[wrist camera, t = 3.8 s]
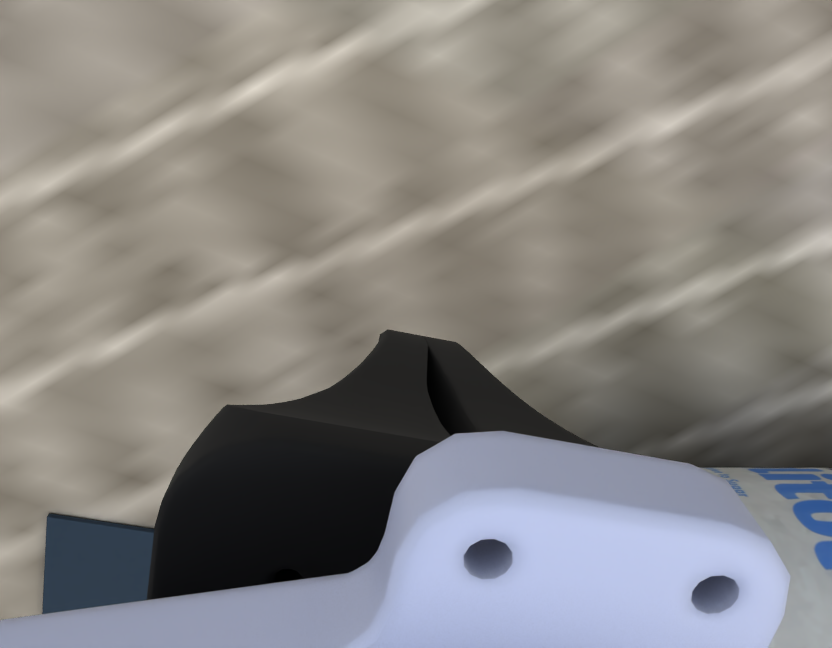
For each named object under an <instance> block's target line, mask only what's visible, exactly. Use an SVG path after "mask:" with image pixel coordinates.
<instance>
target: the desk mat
mask: <svg viewBox="0 0 832 648" xmlns="http://www.w3.org/2000/svg"><path fill="white" fill-rule="evenodd" d="M153 537H154V529H149V528H143V527H136V526H130V525H123V524H116V523H110V522H103V521H96V520H90V519H83V518H76V517H70V516H63V515H57V514H49V515H48V516H47V527H46V549H45V570H44V592H43V613H42V614H48V613H55V612H62V611H70V610H77V609H85V608H92V607H100V606H107V605H114V604H122V603H129V602H137V601H144V600H147V591H148V582H149V573H150V564H151V555H152V546H153Z"/></svg>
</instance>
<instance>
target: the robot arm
mask: <svg viewBox="0 0 832 648" xmlns="http://www.w3.org/2000/svg"><path fill="white" fill-rule="evenodd" d="M790 577H791V576H790V574H789V572H788V571H787V569H786V567H785V565H784V564H783V562H782V560H781V558H780V557H779V555H778V553H777V551H776V550H775V548H774V546H773V544H772V543H771V541H770V540H769V538H768V537H767V536H766V534H765V533H764V531H763V530H762V529H761V527H760V526H759V524H758V523H757V522H756V520H755V519H754V517H753V516H752V515H751V513H750V512H749V510H748V509H747V508H746V506H745V505H744V504H743V502H742V501H741V499H740V498H739V497H738V495H737V494H736V492H735V491H734V490H733V488H732V487H731V485H730V484H729V483H728V481H727V480H725V479H722V478H720V477H718V476H716V475H714V474H711V473H709V472H707V471H705V470H703V469H701V468H698V467H696V466H694V465H692V464H690V463H684V462H678V461H672V460H667V459H661V458H655V457H649V456H644V455H638V454H632V453H627V452H621V451H615V450H609V449H604V448H599V447H597V446H595V445H593V444H591V443H589V442H587V441H585V440H583V439H581V438H579V437H578V436H576V435H574V434H572V433H570V432H568V431H567V430H565V429H564V428H562V427H560V426H559V425H557V424H556V423H554V422H552V421H551V420H549V419H548V418H546V417H544V416H543V415H542V414H540V413H539V412H537V411H536V410H534V409H533V408H532V407H530V406H529V405H528V404H527V403H525V402H524V401H523V400H521V399H520V398H519V397H518V396H516V395H515V394H514V393H513V392H511V391H510V390H509V389H508V388H507V387H506V386H504V385H503V384H502V383H501V382H500V381H499V380H498V379H497V378H495V377H494V376H493V375H492V374H491V373H490V372H489V371H488V370H487V369H486V368H485V367H484V366H483V365H482V364H480V363H479V362H478V361H477V360H476V359H475V358H474V357H473V356H472V355H471V354H470V353H469V352H468V351H467V350H465V349H464V348H463V347H462V346H461V345H459V344H458V343H456V342H452V341H447V340H441V339H436V338H430V337H425V336H420V335H414V334H409V333H404V332H398V331H393V330H386V331H385V332H383V333H382V334H380V338H379V342H378V344H377V345H376V346H375V348H374V349H373V351H372V352H371V353H370V354H369V355H368V356H367V357H366V359H365V360H364V361H363V362H362V363H361V364H360V365H359V366H358V367H357V368H355V369H354V370H353V371H352V372H351V373H350V374H348V375H347V376H346V377H345V378H343V379H342V380H341V381H339V382H338V383H336V384H335V385H333V386H332V387H330V388H328V389H326V390H323V391H320V392H318V393H315V394H312V395H309V396H307V397H304V398H301V399H297V400H292V401H288V402H282V403H275V404H267V405H226V406H225V407H223V408H222V409H221V411H220V412H219V413H218V414H217V415H216V416H215V417H214V419H213V420H212V421H211V422H210V423H209V424H208V426H207V427H206V428H205V429H204V430H203V432H202V433H201V434H200V436H199V437H198V438H197V440H196V441H195V442H194V444H193V445H192V446H191V448H190V449H189V451H188V452H187V454H186V455H185V457H184V458H183V460H182V461H181V463H180V465H179V467H178V468H177V470H176V472H175V474H174V476H173V478H172V480H171V482H170V485H169V487H168V489H167V491H166V493H165V495H164V498H163V500H162V502H161V506H160V510H159V513H158V517H157V520H156V524H155V528H154V537H153V546H152V555H151V564H150V573H149V582H148V591H147V600H144V601H137V602H129V603H122V604H114V605H107V606H100V607H92V608H85V609H77V610H70V611H62V612H55V613H48V614H40V615H33V616H25V617H18V618H10V619H3V620H0V648H768V647H769V645H770V643H771V641H772V639H773V637H774V635H775V633H776V631H777V629H778V627H779V625H780V623H781V621H782V619H783V617H784V614H785V608H786V601H787V595H788V589H789V583H790Z"/></svg>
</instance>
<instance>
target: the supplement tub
mask: <svg viewBox="0 0 832 648" xmlns="http://www.w3.org/2000/svg"><path fill="white" fill-rule="evenodd" d="M701 469H703V470H705V471H707V472H709V473H711V474H714V475H716V476H718V477H720V478H722V479H725V480H727V481H728V483H729V484H730V485H731V487H732V488H733V490H734V491H735V492H736V494H737V495H738V497H739V498H740V499H741V501H742V502H743V504H744V505H745V506H746V508H747V509H748V510H749V512H750V513H751V515H752V516H753V517H754V519H755V520H756V522H757V523H758V524H759V526H760V527H761V529H762V530H763V531H764V533H765V534H766V536H767V537H768V538H769V540H770V541H771V543H772V544H773V546H774V548H775V550H776V551H777V553H778V555H779V557H780V558H781V560H782V562H783V564H784V565H785V567H786V569H787V571H788V572H789V574H790V576H791V577H790V583H789V589H788V595H787V601H786V608H785V614H784V617H783V619H782V621H781V623H780V625H779V627H778V629H777V631H776V633H775V635H774V637H773V639H772V641H771V643H770V645H769V647H768V648H832V468H701Z"/></svg>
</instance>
